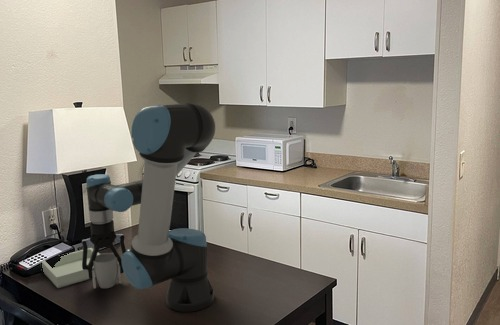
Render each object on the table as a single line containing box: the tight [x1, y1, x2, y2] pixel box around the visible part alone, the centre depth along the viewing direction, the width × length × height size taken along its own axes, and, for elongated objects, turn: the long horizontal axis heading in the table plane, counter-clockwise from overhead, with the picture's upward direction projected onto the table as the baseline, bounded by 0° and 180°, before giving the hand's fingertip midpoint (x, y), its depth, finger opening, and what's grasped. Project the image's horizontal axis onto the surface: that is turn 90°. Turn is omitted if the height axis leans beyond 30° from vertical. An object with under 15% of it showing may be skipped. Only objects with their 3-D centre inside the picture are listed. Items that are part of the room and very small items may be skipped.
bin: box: [40, 247, 100, 289], centre depth 169 cm, size 19×19×4 cm
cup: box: [93, 252, 118, 289], centre depth 156 cm, size 8×8×10 cm
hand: (107, 284), depth 157 cm, fingers closed on cup, 8 cm apart
